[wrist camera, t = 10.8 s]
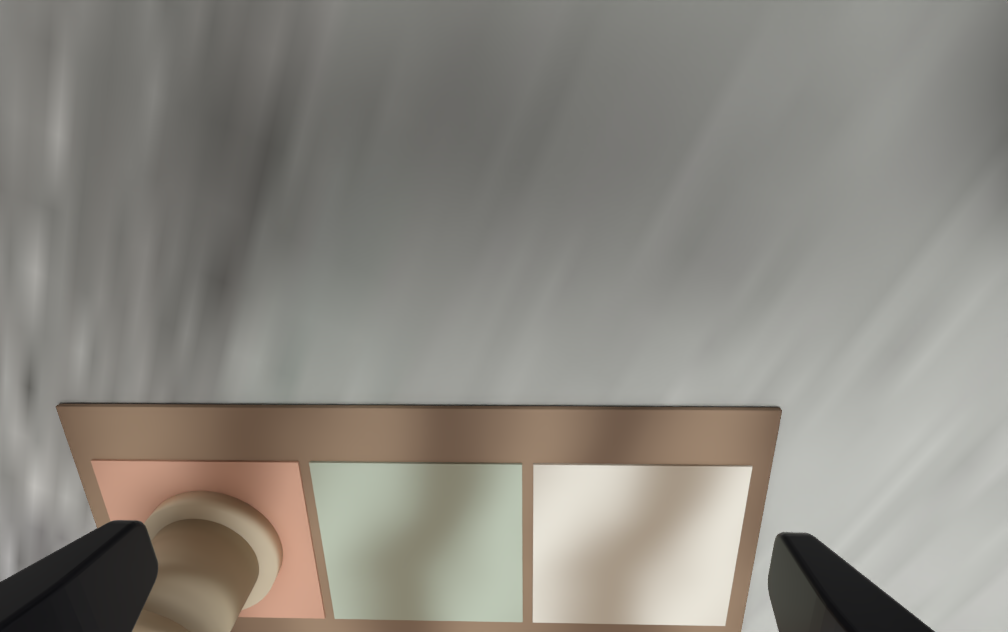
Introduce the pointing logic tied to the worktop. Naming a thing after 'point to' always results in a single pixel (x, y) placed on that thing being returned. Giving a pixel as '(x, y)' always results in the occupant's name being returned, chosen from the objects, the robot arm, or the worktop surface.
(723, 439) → the board
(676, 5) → the worktop surface
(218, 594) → the pawn
